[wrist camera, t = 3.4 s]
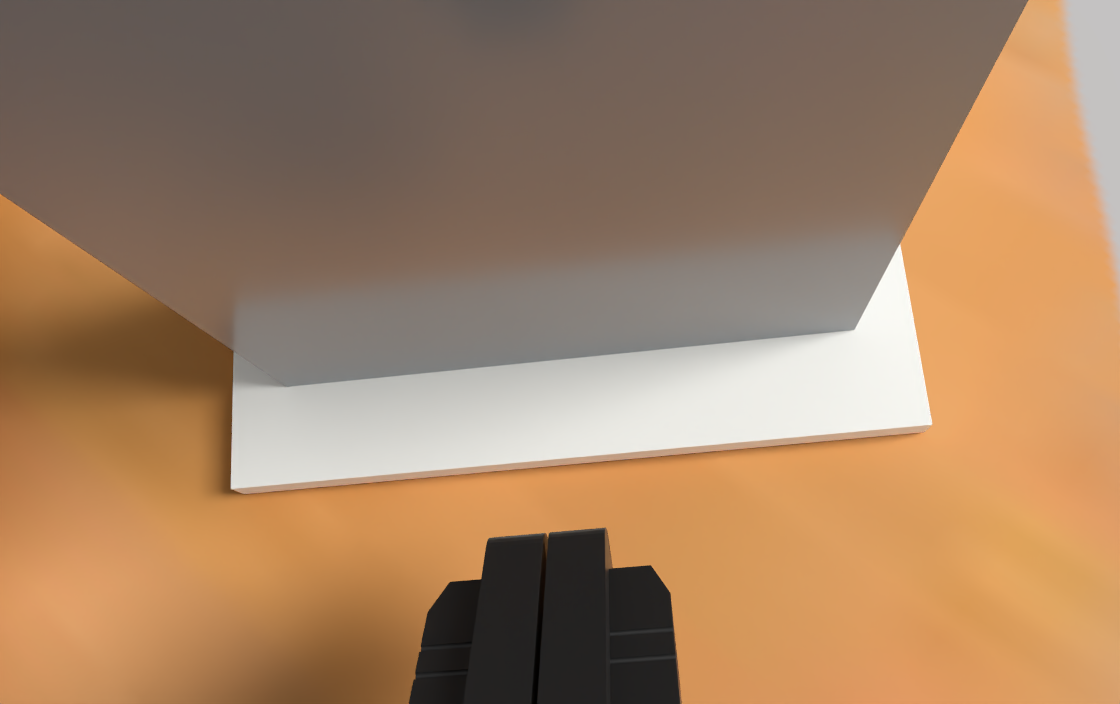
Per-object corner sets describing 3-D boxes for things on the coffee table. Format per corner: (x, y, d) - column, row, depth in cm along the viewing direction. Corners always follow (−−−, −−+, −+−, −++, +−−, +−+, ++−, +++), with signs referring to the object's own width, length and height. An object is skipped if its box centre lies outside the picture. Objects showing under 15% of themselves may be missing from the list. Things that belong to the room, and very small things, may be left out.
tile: (286, 386, 18) (-355, -48, 7) (286, 250, 19) (-293, -342, 8) (854, 330, 18) (1171, -273, 6) (831, 188, 18) (1076, -582, 7)
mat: (244, 493, 19) (230, 489, 18) (257, -213, 23) (246, -235, 23) (924, 431, 18) (932, 424, 17) (796, -297, 22) (799, -322, 22)
